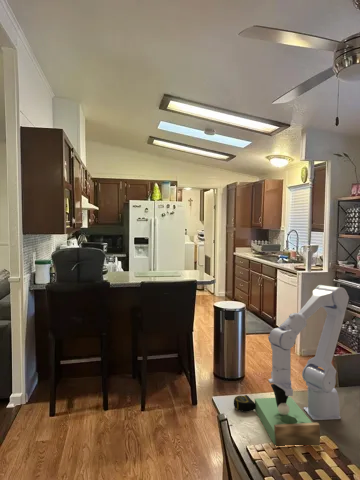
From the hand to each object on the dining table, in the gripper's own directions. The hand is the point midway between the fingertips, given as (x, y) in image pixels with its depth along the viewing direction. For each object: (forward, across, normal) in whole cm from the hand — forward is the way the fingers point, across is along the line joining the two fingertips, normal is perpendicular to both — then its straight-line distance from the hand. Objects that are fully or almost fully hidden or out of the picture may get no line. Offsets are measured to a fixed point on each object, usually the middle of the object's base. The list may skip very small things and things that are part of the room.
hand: (281, 408), depth 108 cm
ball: (0, +1, 0) cm, 1 cm away
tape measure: (+6, -12, -9) cm, 16 cm away
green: (+5, +1, +1) cm, 5 cm away
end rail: (+5, +11, +1) cm, 12 cm away
